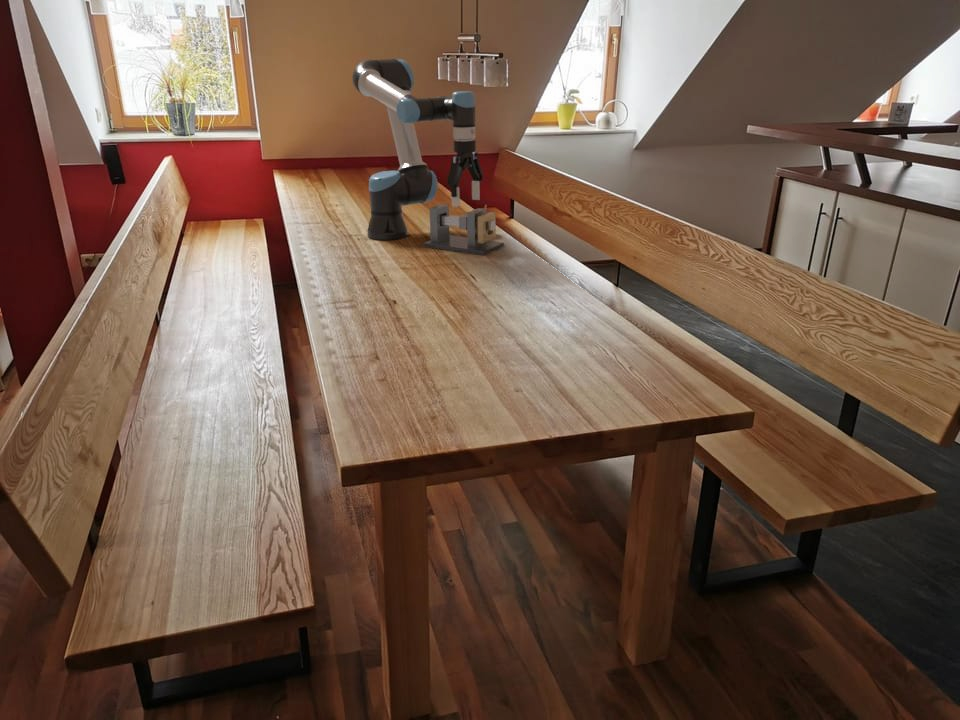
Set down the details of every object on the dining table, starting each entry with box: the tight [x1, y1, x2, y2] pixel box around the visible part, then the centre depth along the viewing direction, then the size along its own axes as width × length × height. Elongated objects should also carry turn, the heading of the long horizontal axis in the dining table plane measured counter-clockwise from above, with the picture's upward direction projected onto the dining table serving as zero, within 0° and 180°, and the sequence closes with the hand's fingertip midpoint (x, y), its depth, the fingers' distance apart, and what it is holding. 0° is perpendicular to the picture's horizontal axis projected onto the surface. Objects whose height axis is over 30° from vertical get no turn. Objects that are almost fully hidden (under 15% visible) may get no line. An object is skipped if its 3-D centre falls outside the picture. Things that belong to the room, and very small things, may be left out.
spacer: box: [478, 211, 497, 243], centre depth 262 cm, size 2×9×9 cm, turn 150°
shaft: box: [440, 213, 495, 231], centre depth 266 cm, size 24×4×4 cm, turn 60°
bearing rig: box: [423, 203, 505, 256], centre depth 267 cm, size 25×14×14 cm, turn 60°
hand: (466, 203), depth 263 cm, fingers open, 13 cm apart
